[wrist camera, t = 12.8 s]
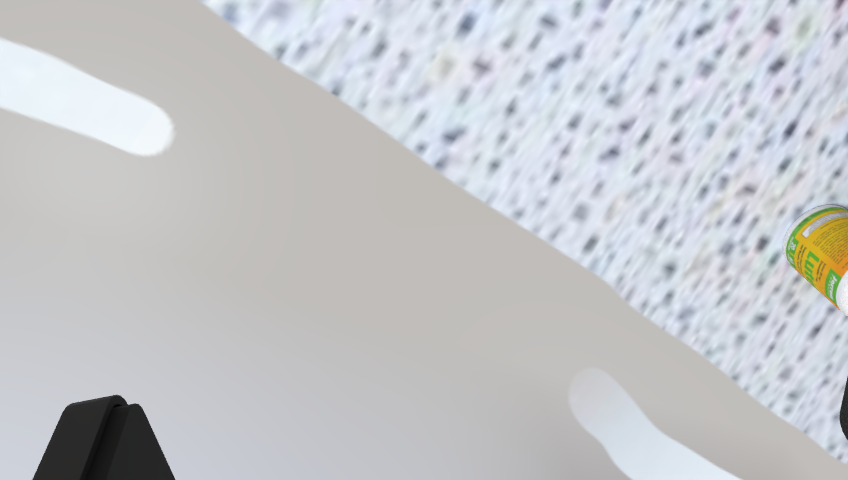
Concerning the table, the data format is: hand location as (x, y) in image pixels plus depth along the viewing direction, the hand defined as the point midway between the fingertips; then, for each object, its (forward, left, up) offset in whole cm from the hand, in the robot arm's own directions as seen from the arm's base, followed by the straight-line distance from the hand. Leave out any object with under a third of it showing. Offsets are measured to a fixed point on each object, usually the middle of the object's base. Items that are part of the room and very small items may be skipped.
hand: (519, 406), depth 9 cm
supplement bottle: (-29, +23, -34) cm, 51 cm away
